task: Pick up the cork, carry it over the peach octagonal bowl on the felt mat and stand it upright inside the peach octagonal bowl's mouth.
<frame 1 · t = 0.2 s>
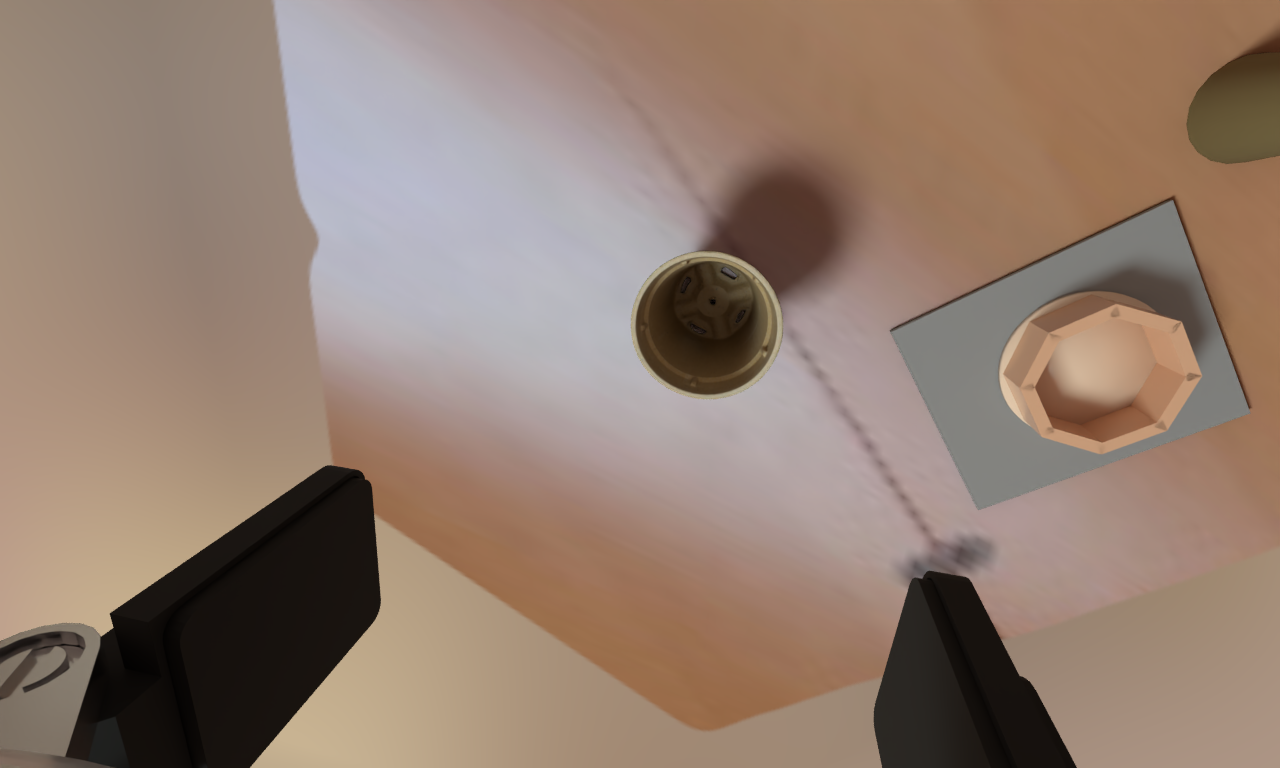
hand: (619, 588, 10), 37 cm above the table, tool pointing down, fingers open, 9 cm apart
peach octagonal bowl: (1080, 365, 42), resting on felt mat
felt mat: (1062, 369, 43), on the table
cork: (1243, 110, 36), on the table
flower pot: (714, 299, 46), on the table
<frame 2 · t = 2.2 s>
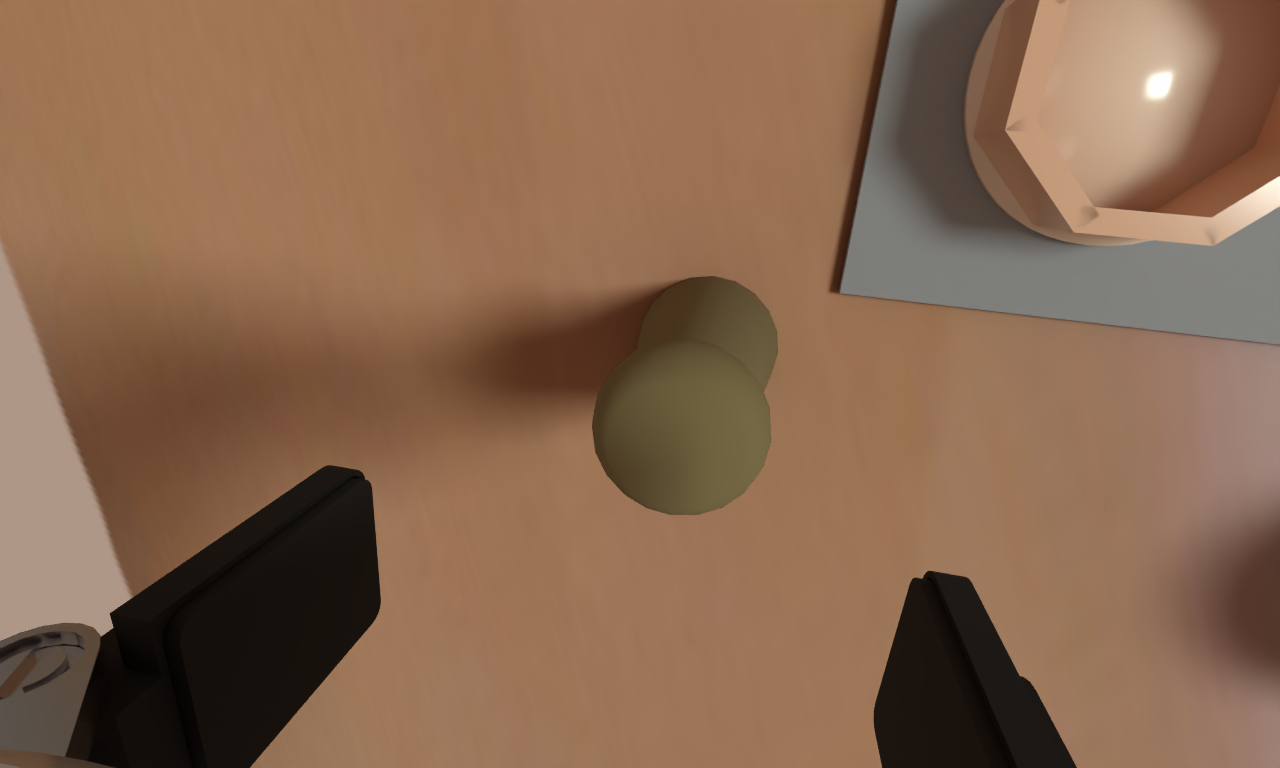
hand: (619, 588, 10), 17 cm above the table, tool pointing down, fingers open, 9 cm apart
peach octagonal bowl: (1130, 86, 20), resting on felt mat
felt mat: (1156, 90, 21), on the table
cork: (707, 344, 27), on the table
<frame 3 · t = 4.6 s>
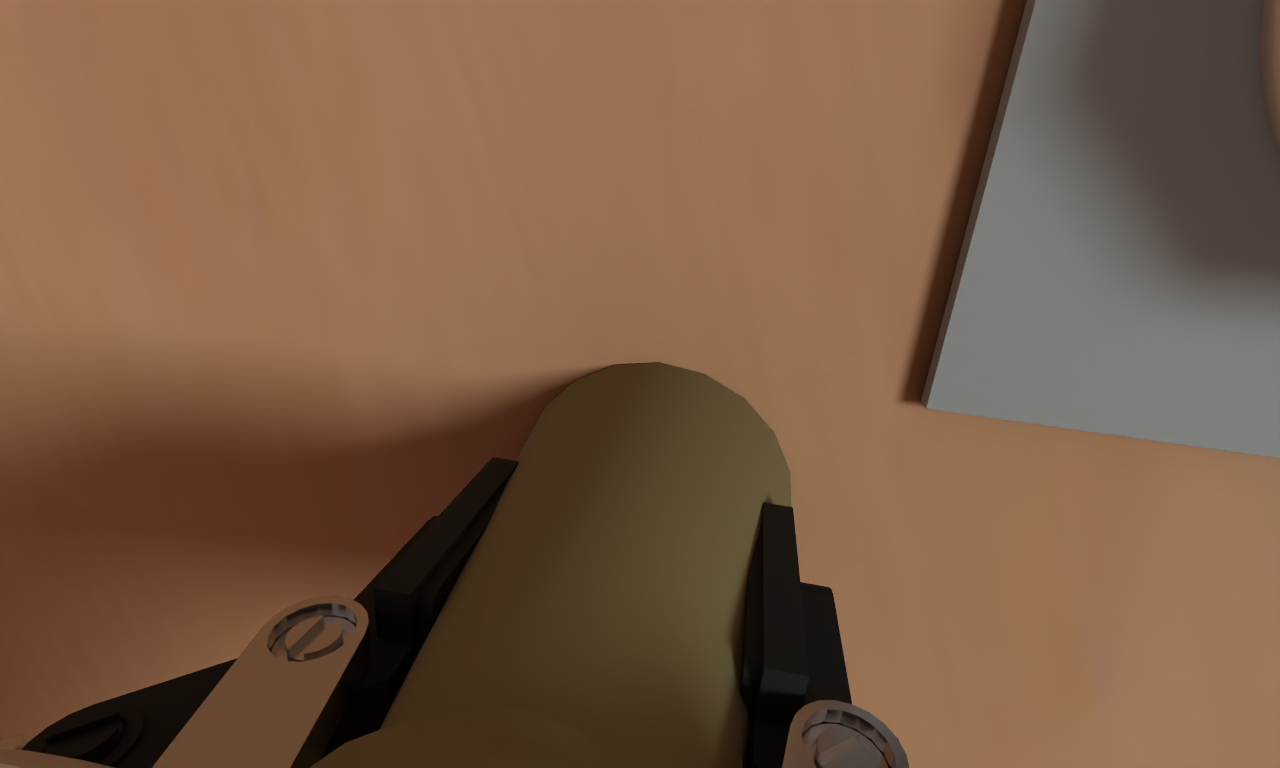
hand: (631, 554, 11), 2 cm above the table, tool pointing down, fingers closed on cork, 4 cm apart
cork: (653, 488, 14), on the table, touching gripper
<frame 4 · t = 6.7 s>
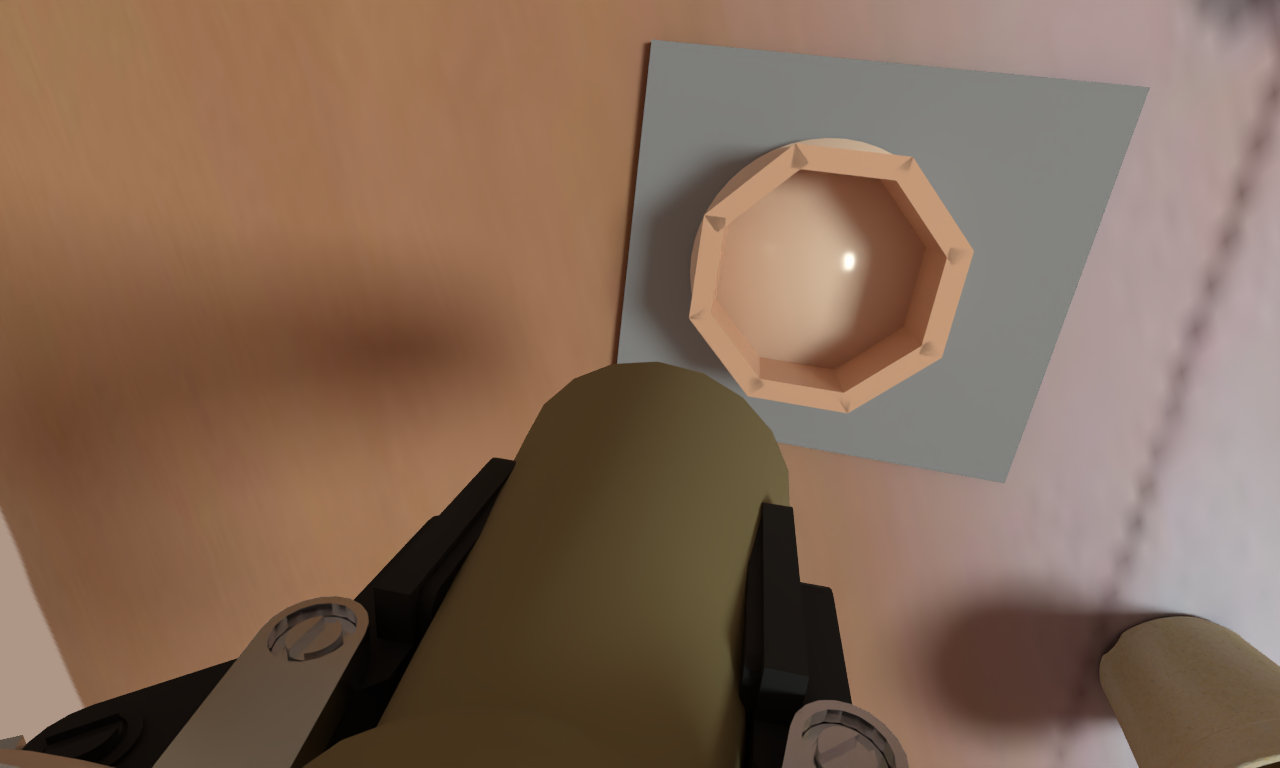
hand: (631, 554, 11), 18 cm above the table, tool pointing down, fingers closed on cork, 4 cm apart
peach octagonal bowl: (814, 271, 26), resting on felt mat
felt mat: (837, 273, 26), on the table
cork: (651, 487, 14), point 15 cm above the table, touching gripper
flower pot: (1166, 662, 29), on the table
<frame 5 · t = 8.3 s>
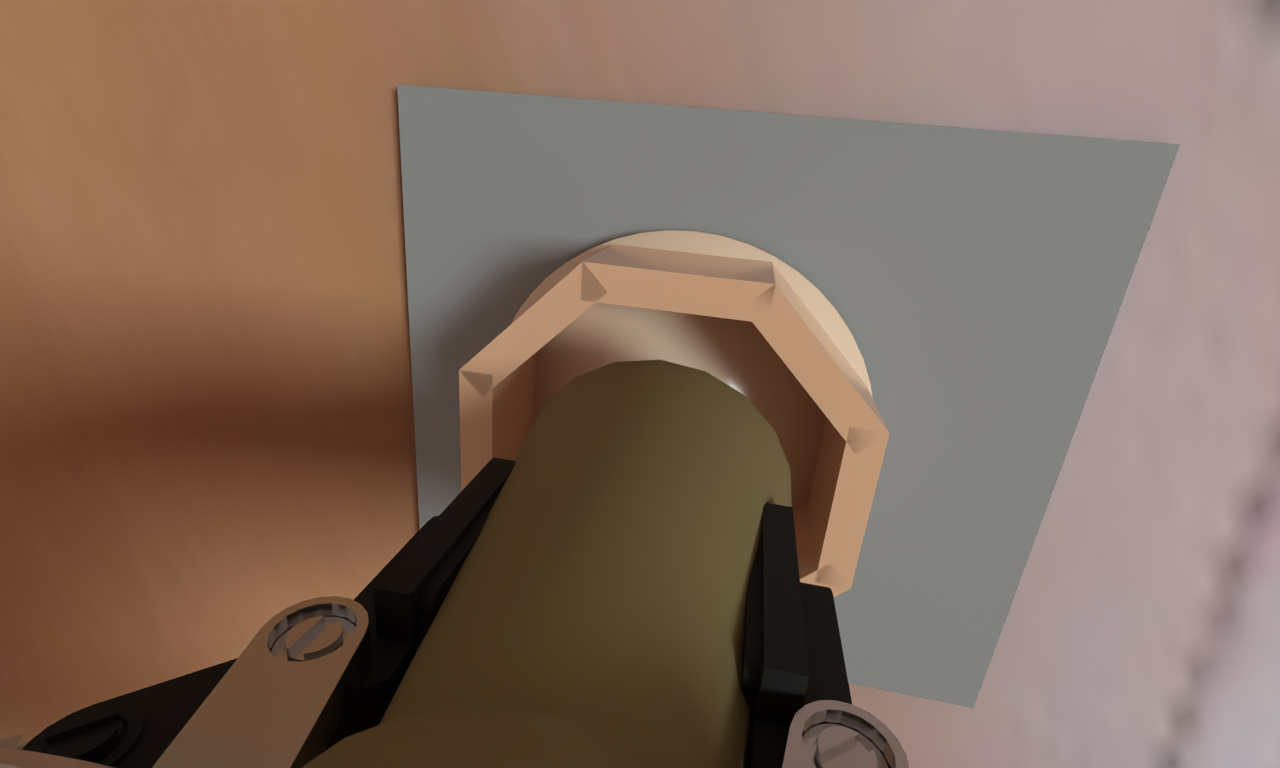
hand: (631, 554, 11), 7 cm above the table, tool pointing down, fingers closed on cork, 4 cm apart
peach octagonal bowl: (675, 418, 17), resting on felt mat
felt mat: (711, 418, 17), on the table
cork: (653, 485, 14), point 4 cm above the table, touching gripper
when the fingers open (5 cm above the table, at t = 9.1 s): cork stays where it is, resting on peach octagonal bowl.
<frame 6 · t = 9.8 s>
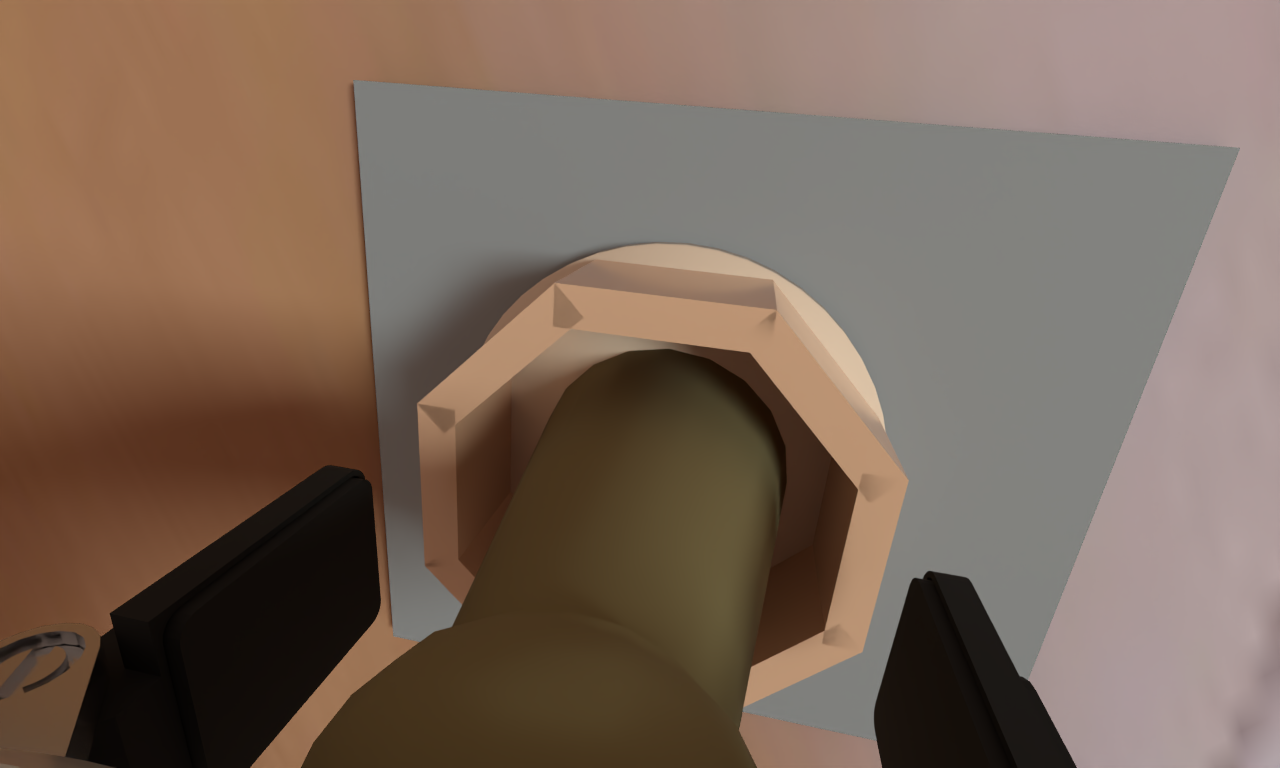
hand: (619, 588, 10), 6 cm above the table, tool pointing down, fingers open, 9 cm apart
peach octagonal bowl: (665, 450, 15), resting on felt mat
felt mat: (706, 449, 16), on the table
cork: (662, 462, 15), point 1 cm above the table, touching peach octagonal bowl
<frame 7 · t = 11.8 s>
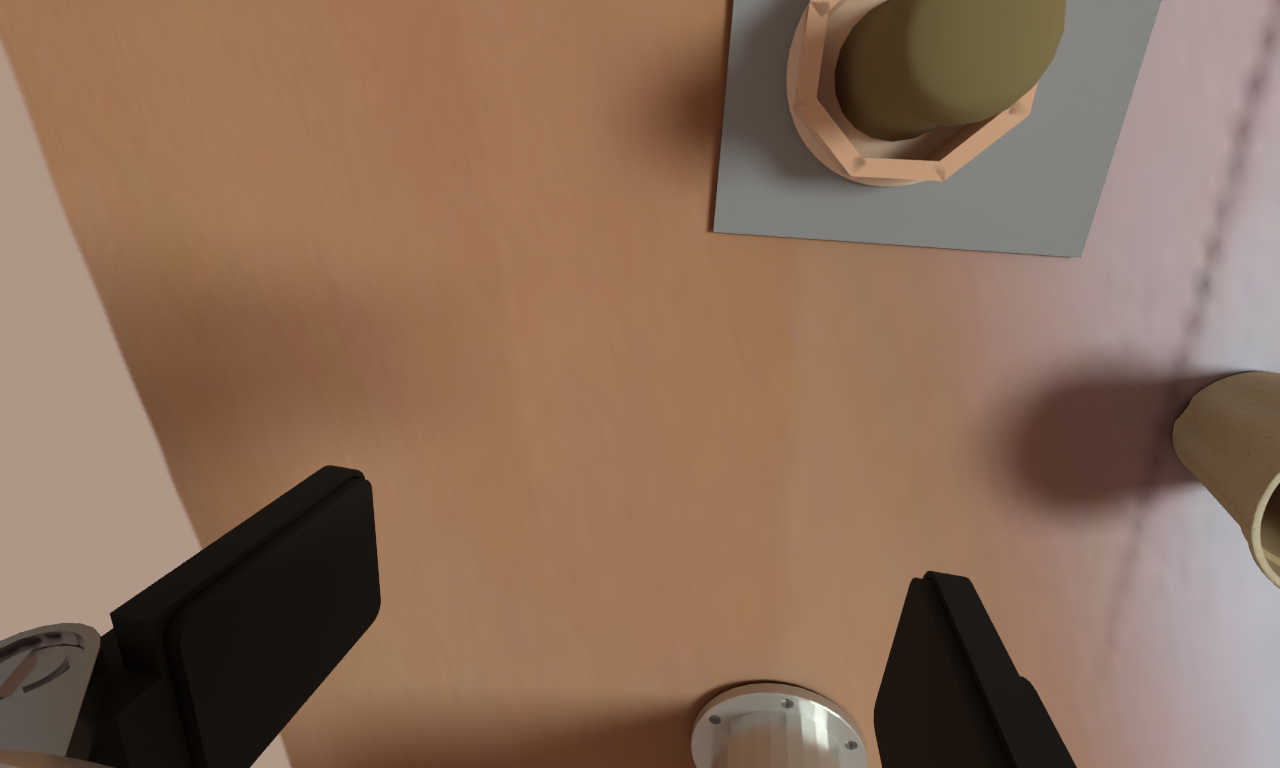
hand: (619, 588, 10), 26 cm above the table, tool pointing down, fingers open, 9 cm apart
peach octagonal bowl: (900, 68, 28), resting on felt mat
felt mat: (921, 70, 29), on the table
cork: (901, 71, 28), point 1 cm above the table, touching peach octagonal bowl
flower pot: (1234, 423, 32), on the table
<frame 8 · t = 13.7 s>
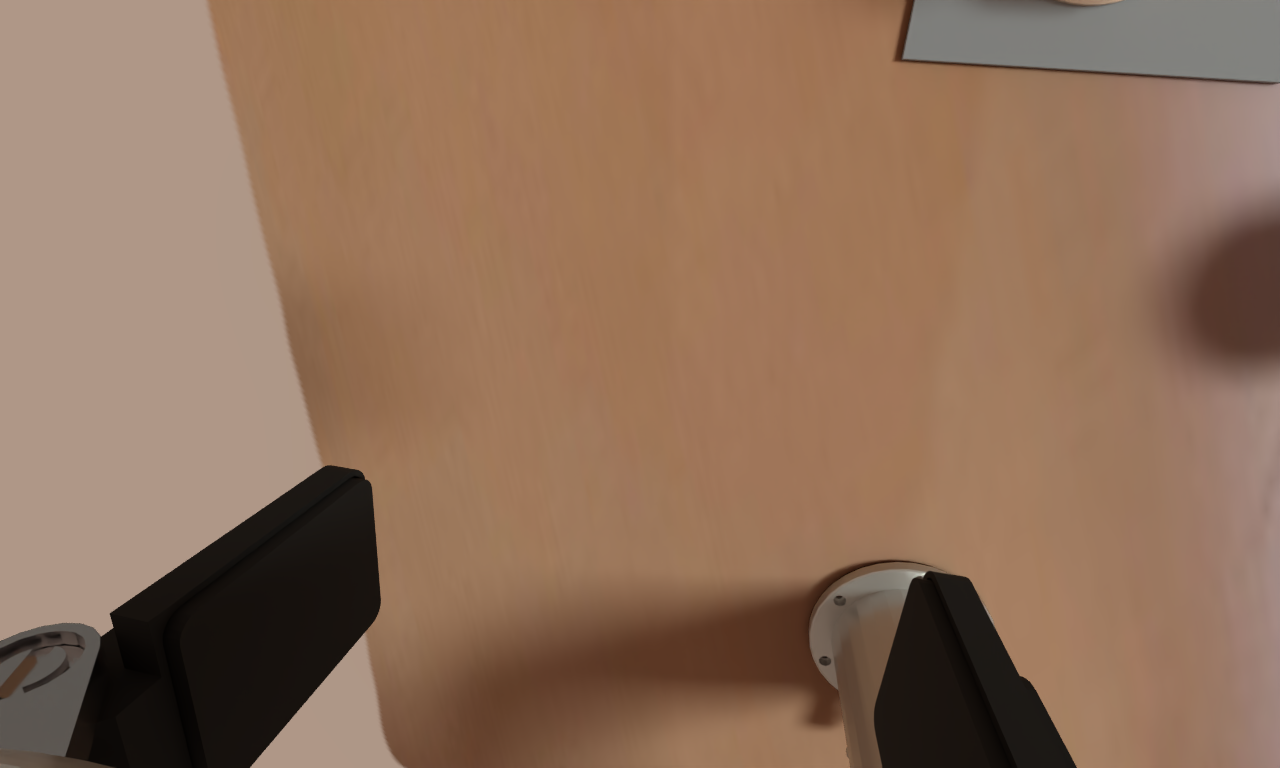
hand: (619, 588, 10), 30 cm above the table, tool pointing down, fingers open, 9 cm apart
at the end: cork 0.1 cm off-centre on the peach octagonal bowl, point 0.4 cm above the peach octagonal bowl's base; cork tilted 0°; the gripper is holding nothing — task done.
